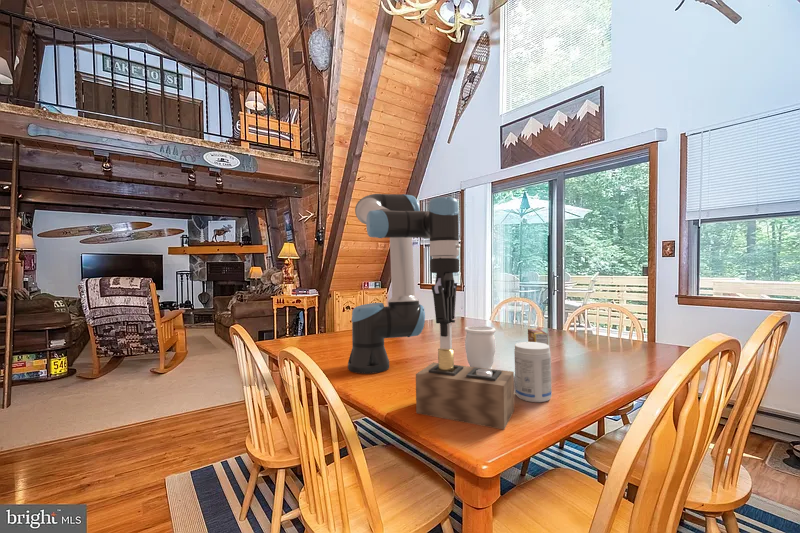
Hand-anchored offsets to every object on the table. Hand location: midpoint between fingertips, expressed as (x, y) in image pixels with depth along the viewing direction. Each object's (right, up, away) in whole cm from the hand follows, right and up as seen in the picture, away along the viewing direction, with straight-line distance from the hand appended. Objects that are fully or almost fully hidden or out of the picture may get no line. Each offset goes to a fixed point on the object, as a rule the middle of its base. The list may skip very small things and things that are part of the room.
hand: (446, 348), depth 97 cm
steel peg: (+9, -15, -4) cm, 18 cm away
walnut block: (+5, -16, -2) cm, 17 cm away
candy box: (+34, -15, +26) cm, 45 cm away
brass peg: (0, -10, 0) cm, 10 cm away
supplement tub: (+25, -16, +8) cm, 31 cm away
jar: (+16, -16, +34) cm, 40 cm away
